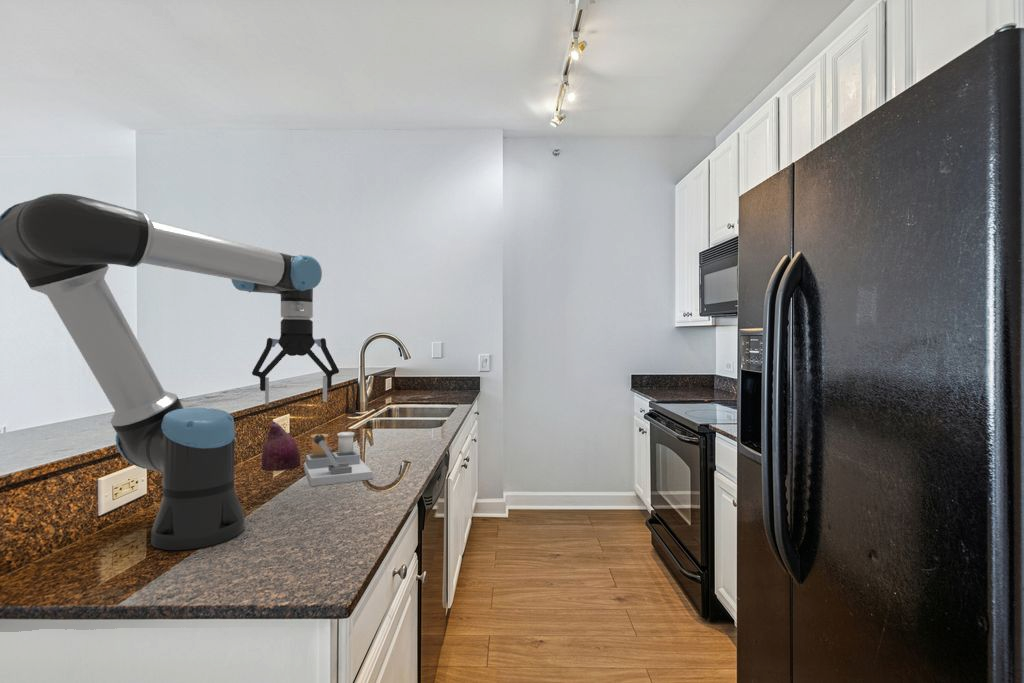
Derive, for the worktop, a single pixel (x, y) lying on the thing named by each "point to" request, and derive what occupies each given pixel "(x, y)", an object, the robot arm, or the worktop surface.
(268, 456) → the vegetable
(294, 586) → the worktop surface
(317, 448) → the plunger orange
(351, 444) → the plunger white
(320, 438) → the lever
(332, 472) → the panel
